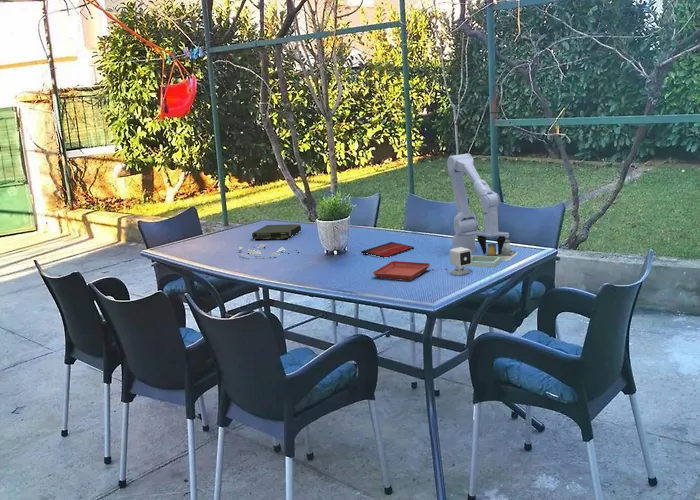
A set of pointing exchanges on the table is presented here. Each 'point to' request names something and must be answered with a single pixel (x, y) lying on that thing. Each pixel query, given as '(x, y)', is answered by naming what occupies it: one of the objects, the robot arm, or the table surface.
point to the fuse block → (506, 255)
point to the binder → (388, 249)
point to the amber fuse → (492, 249)
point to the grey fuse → (506, 246)
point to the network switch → (276, 231)
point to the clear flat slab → (259, 251)
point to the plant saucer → (401, 270)
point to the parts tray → (495, 260)
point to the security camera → (460, 260)
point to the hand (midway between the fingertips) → (492, 253)
